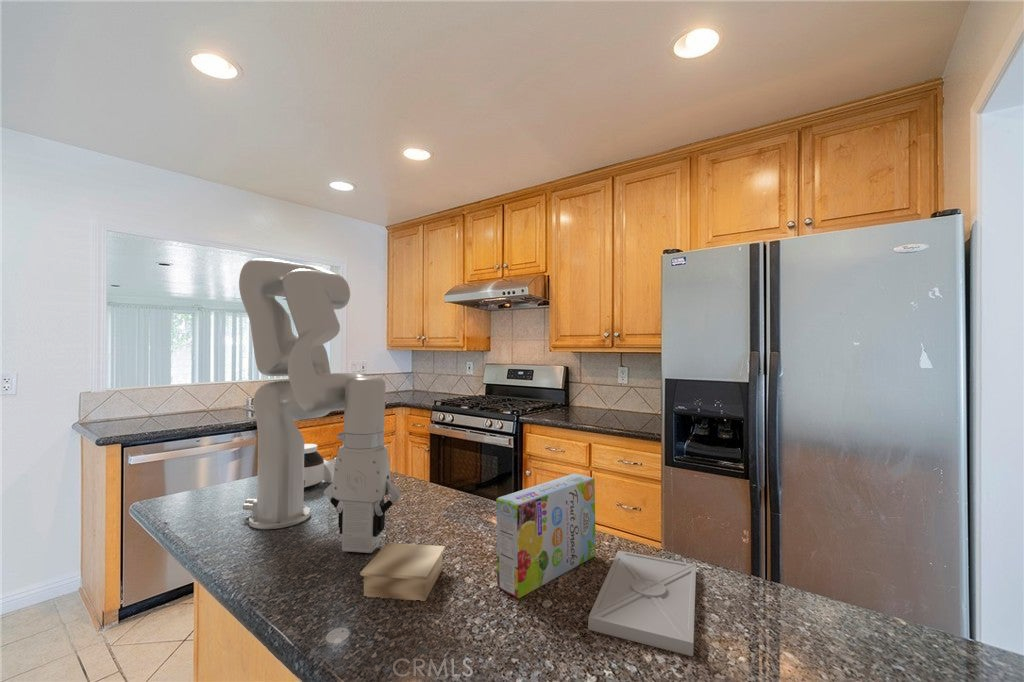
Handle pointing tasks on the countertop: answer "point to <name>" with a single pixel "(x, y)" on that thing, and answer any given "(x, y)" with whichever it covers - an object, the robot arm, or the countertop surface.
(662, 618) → the envelope
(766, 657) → the countertop surface
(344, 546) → the skincare box
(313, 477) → the spread jar
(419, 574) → the pedestal
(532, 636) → the countertop surface
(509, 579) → the snack box
